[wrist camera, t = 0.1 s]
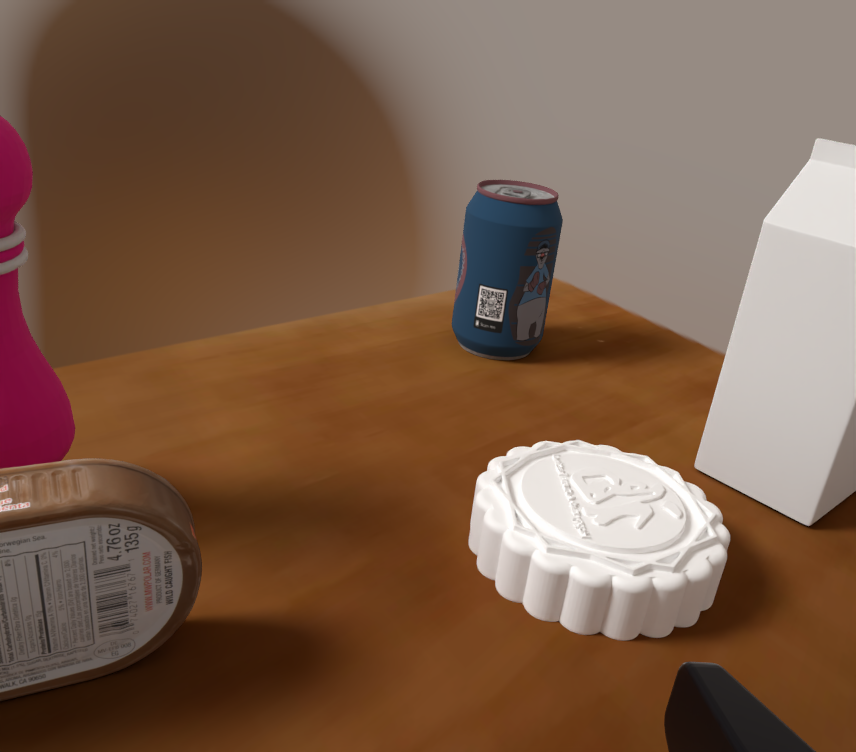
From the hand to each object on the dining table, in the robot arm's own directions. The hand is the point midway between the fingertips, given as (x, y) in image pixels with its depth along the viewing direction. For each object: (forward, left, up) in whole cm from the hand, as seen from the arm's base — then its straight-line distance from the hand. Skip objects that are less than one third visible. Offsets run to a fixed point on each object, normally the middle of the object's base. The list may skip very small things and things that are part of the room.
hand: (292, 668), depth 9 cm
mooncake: (+25, -12, -17) cm, 32 cm away
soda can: (+50, -10, -17) cm, 53 cm away
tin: (+15, +12, -17) cm, 25 cm away
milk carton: (+33, -25, -17) cm, 44 cm away
